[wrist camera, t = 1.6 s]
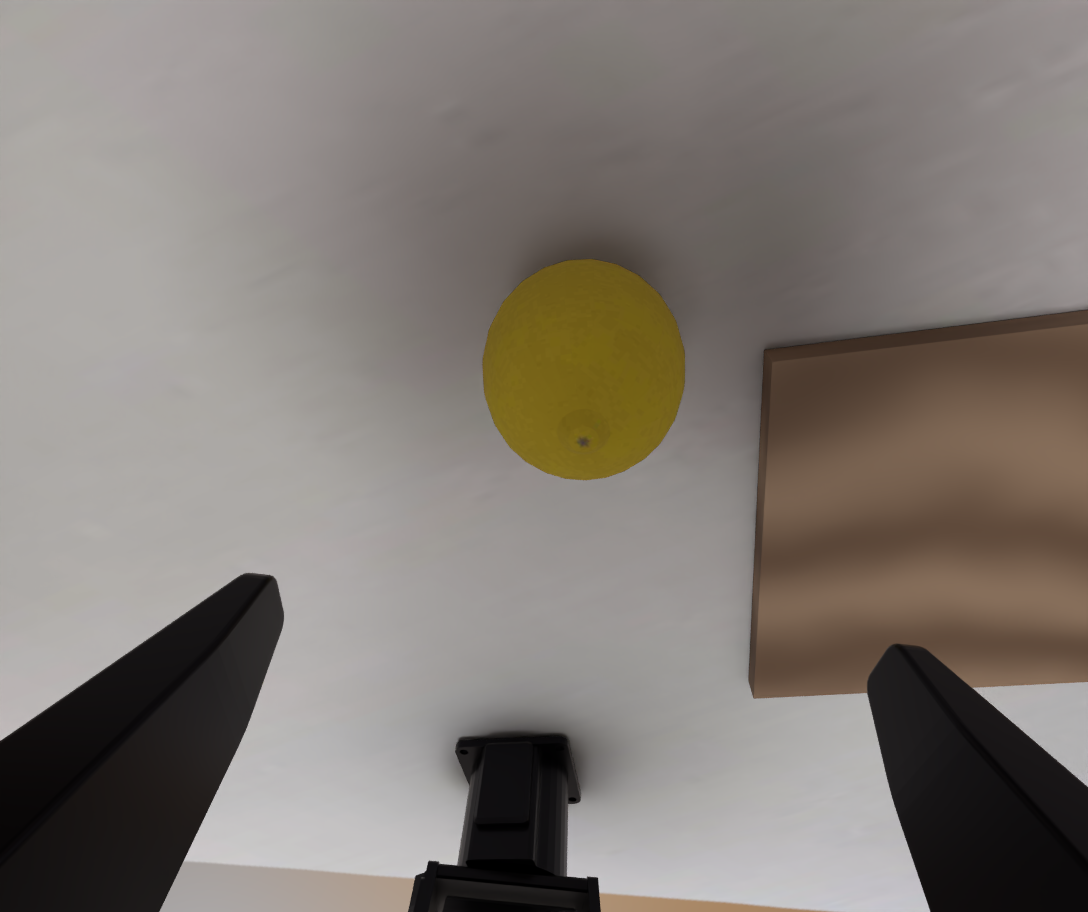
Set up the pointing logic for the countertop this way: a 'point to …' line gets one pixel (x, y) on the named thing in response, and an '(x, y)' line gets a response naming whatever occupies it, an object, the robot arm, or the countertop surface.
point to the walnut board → (924, 506)
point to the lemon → (583, 369)
